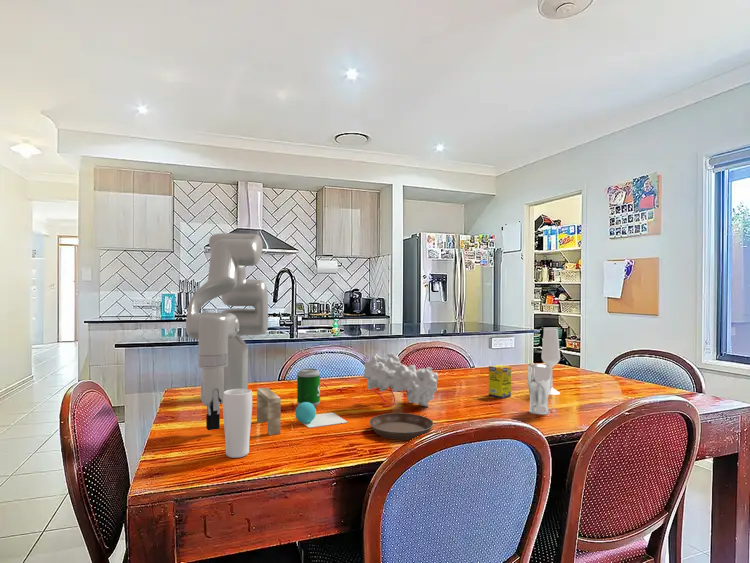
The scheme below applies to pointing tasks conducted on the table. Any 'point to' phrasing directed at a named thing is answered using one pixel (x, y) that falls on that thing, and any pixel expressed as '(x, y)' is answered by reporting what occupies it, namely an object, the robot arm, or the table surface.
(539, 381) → the white vase
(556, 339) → the champagne flute
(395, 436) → the plant saucer
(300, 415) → the ball
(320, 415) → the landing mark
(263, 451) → the table surface
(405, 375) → the molecular structure model
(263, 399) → the bridge
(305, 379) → the soda can
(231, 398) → the drinking glass
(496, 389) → the supplement box
